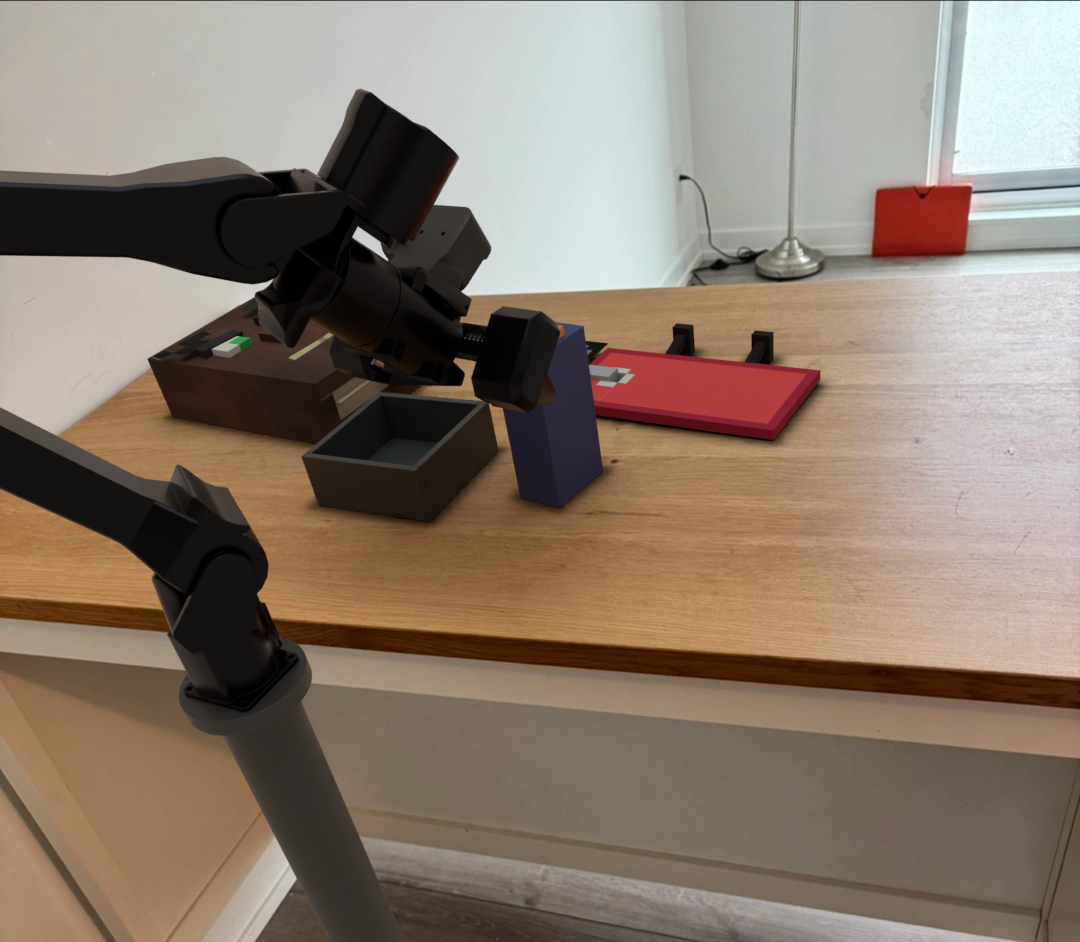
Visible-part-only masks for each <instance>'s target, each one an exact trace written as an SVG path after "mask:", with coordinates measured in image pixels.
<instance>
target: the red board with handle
mask: <svg viewBox="0 0 1080 942" xmlns="http://www.w3.org/2000/svg"><path fill="white" fill-rule="evenodd" d="M694 329H695V328H694V324H688V323H679V322H678V323H675V324H674V325H673V326H672V341H671V343H670V345H669V347H668V348H667V350H666V351H665V353H660V352H652V351H651V352H650V351H642V350H632V349H623V348H614V347H607V348H606V346H608V345H609V342H603V341H602V342H601V341H593V340H586V347H587V354H588V362H589V369H590V377H591V384H592V391H593V399H594V406H595V414H596V416H600V417H608V418H614V419H622V420H630V421H635V422H636V421H637V422H642V423H643V422H644V423H650V424H658V425H664V426H671V427H677V428H678V427H679V428H684V429H685V428H686V429H692V430H699V431H705V432H707V431H708V432H713V433H721V434H726V435H734V436H741V437H747V438H755V439H762V440H770V441H774V440H775V439H776V437H778V435H779V434H780V433H781V431H782V430H783V429H784V427H785V426H786V425H787V424H788V422H789V421H790V420H791V418H792V417H793V416H794V414H795V413H796V412H797V411H798V409H799V408H800V407H801V405H802V404H803V403H804V402H805V400H806V399H807V398H808V397H809V395H810V394H811V392H812V391H813V390H814V389H815V387H816V386H817V385H818V383H819V382H820V381H821V371H822V370H821V369H812V368H803V367H794V366H784V365H775V364H774V365H773V364H772V363H773V361H774V360H775V359H774V352H775V351H774V350H775V349H774V343H775V342H774V341H775V339H774V334H775V333H774V331H765V330H754V331H753V332H752V333H751V335H750V337H751V338H750V339H751V343H750V344H751V350H750V351H749V353H748V355H747V357H746V359H745V360H744V361H737V360H728V359H719V358H707V357H700V356H693V354H694V353H695V352H696V345H695V330H694ZM605 348H606V349H605ZM603 349H604V350H603ZM602 350H603V352H602ZM600 352H601V353H600ZM599 353H600V354H599ZM598 354H599V355H598ZM597 355H598V356H597ZM595 357H596V358H595ZM594 358H595V359H594ZM593 359H594V360H593ZM591 360H593V361H592V362H591V363H590V361H591Z"/></svg>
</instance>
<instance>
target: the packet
mask: <svg viewBox="0 0 1080 942" xmlns="http://www.w3.org/2000/svg"><path fill="white" fill-rule="evenodd" d="M555 322H556V323H557V325H558V327H559V329H560V336H559V339H558V342H557V345H556V348H555V351H554V354H553V357H552V361H551V364H550V367H549V370H548V375H549V377H550V379H551V381H552V383H553V385H554V387H555V390H556V392H555V395H554V398H553V401H552V403H551V404H547V405H540V406H537V407H535V408H534V409H533V410H531V411H530V412H529V413H525V412H518V411H513V410H508V409H504V408H502V412H503V417H504V418H503V419H504V422H505V427H506V432H507V438H508V443H509V447H510V452H511V457H512V462H513V466H514V468H513V469H514V472H515V477H516V483H517V488H518V493H519V497H520V498H522V499H526V500H529V501H533V502H536V503H540V504H543V505H544V504H545V505H548V506H552V507H554V508H555V507H556V508H562V507H563V506H564V505H566V503H568V502H569V501H571V499H573V498H574V497H575V496H576V495H577V494H578V493H579V492H581V491H582V490H583V489H585V488H586V487H587V486H588V485H589V484H590V483H592V482H593V481H594V480H595V479H596V478H598V477H599V476H600V475H601V474H603V472H604V466H603V458H602V451H601V444H600V437H599V436H600V435H599V429H598V422H597V415H596V414H595V406H594V399H593V391H592V384H591V377H590V369H589V365H590V361H589V362H588V354H587V347H586V341H587V340H586V333H585V326H584V325H581V324H571V323H565V322H558V321H555Z"/></svg>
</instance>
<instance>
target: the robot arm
mask: <svg viewBox="0 0 1080 942" xmlns="http://www.w3.org/2000/svg"><path fill="white" fill-rule="evenodd" d="M459 160H460V156H459V155H458V153H457V152H456V151H455V150H454V149H453V148H452V147H451V146H450V145H449V144H448V143H446V142H445V141H444V140H443V139H442V138H441V137H439V136H438V135H437V134H436V133H434V131H432V130H431V129H430V128H428V127H427V126H425V125H422V124H420V123H417V122H414V121H412V119H410V118H408V117H407V116H406V115H404V114H402V113H401V112H399V111H398V110H397V109H395V108H394V107H392V106H391V105H388V103H386V102H384V101H383V100H381V98H379V97H378V96H377V95H375V94H374V93H373V92H372V91H369V90H366V89H363V88H357V89H356V90H355V91H354V94H353V96H352V97H351V99H350V101H349V103H348V105H347V107H346V110H345V115H344V119H343V122H342V125H341V127H340V128H339V130H338V132H337V134H336V136H335V139H334V140H333V142H332V144H331V147H330V148H329V150H328V152H327V154H326V156H325V158H324V160H323V161H322V164H321V166H320V168H319V170H318V172H317V174H316V173H314V172H313V171H311V170H310V169H308V168H304V167H303V168H296V167H295V168H291V169H280V170H268V171H266V170H265V171H256V169H254V168H253V167H251V166H249V165H248V164H246V163H244V162H242V161H241V160H239V159H235V158H231V157H227V156H213V157H206V158H200V159H199V158H198V159H192V160H185V161H177V162H170V163H164V164H160V165H156V166H152V167H148V168H145V169H140V170H137V171H132V172H125V173H119V174H111V175H103V174H83V173H82V174H81V173H64V172H63V173H61V172H42V171H19V170H18V171H17V170H0V256H1V257H3V256H4V257H6V256H7V257H60V258H61V257H64V258H65V257H67V258H124V259H125V258H126V259H133V260H138V261H143V262H149V263H152V264H156V265H160V266H162V267H167V268H170V269H174V270H177V271H180V272H184V273H188V274H191V275H195V276H201V277H206V278H211V279H217V280H223V281H227V282H232V283H237V284H244V285H258V284H265V283H268V282H270V281H271V282H270V283H269V285H267V286H266V287H264V288H263V289H261V290H258V291H256V292H255V293H254V297H255V299H256V301H257V303H258V315H259V323H260V325H261V326H262V327H263V328H265V329H266V330H267V331H268V332H270V333H271V334H272V335H273V336H274V337H276V338H277V339H278V340H279V341H280V342H282V343H283V344H284V345H285V346H286V347H288V348H294V347H295V346H296V345H297V343H298V341H299V339H300V337H301V335H302V333H303V332H304V330H305V328H306V326H307V324H308V322H311V323H312V324H314V325H316V326H318V327H320V328H321V329H323V330H325V331H327V332H329V333H330V334H332V335H334V337H333V340H332V344H331V347H330V350H329V352H330V355H331V359H332V362H333V365H334V368H336V369H338V370H340V371H341V372H343V373H345V374H347V375H349V376H351V377H356V378H360V379H365V380H369V381H373V382H378V383H383V384H388V385H420V386H419V387H421V386H422V387H423V386H424V387H461V386H463V383H464V381H465V378H466V373H465V371H464V370H463V369H462V368H461V367H460V366H459V365H458V364H457V363H456V362H455V360H456V359H458V360H459V359H460V360H464V361H471V362H475V364H474V367H473V371H472V374H471V376H470V380H471V385H472V389H473V393H474V398H477V399H479V401H484V402H486V403H489V405H491V406H492V407H494V408H500V409H503V408H504V409H508V410H513V411H518V412H525V413H529V412H530V411H531V410H533V409H534V408H535V407H537V406H540V405H547V404H551V403H552V401H553V398H554V395H555V392H556V390H555V387H554V385H553V383H552V381H551V379H550V377H549V375H548V370H549V367H550V364H551V361H552V357H553V354H554V351H555V348H556V345H557V342H558V339H559V336H560V329H559V327H558V325H557V323H556V322H557V321H555V320H554V319H553V318H551V317H550V316H549V315H547V314H546V313H544V312H543V311H542V310H535V309H526V308H519V307H513V306H505V305H503V306H500V308H498V309H495V311H493V312H492V313H490V316H489V319H488V322H487V325H483V324H477V323H469V322H463V321H461V319H462V318H466V317H467V316H468V314H469V310H470V306H471V304H472V300H473V298H471V297H469V296H468V295H467V294H466V293H464V292H463V291H464V290H465V289H466V288H467V287H468V285H469V284H470V282H471V281H472V279H473V278H474V275H475V274H476V273H477V271H478V269H479V268H480V266H481V265H482V263H483V262H484V260H485V261H486V260H488V258H489V257H490V254H491V253H492V245H491V243H490V241H489V239H488V237H487V236H486V234H485V232H484V230H483V229H482V227H481V225H480V223H478V220H477V219H476V217H475V215H474V214H473V212H472V210H471V209H470V207H467V206H461V205H460V206H458V205H445V204H443V205H442V204H435V203H436V202H437V200H438V198H439V197H440V194H441V192H442V191H443V189H444V187H445V185H446V184H447V182H448V179H449V178H450V176H451V175H452V173H453V171H454V169H455V167H456V165H457V164H458V162H459ZM358 228H359V229H360V230H362V231H363V232H364V233H367V234H368V235H369V236H371V237H372V238H373V239H375V240H377V241H378V242H379V243H380V247H381V251H382V252H383V255H384V256H385V257H386V258H387V259H386V258H385V257H383V256H381V255H379V254H378V253H377V252H375V251H374V250H372V249H371V248H369V247H368V246H366V245H365V244H363V243H362V242H361V241H359V240H357V239H356V238H355V237H353V236H354V235H355V233H356V231H357V229H358ZM0 490H1V491H3V492H5V493H8V494H10V495H12V496H14V497H16V498H19V499H21V500H23V501H26V502H28V503H30V504H32V505H35V506H37V507H39V508H41V509H44V510H46V511H47V512H51V513H52V514H54V515H55V516H56V515H57V516H59V517H61V518H63V519H65V520H68V521H70V522H71V523H74V524H77V525H79V526H81V527H83V528H85V529H87V530H90V531H92V532H94V533H96V534H98V535H101V536H103V537H105V538H107V539H110V540H112V541H114V542H116V543H118V544H119V545H121V546H123V547H124V548H125V549H127V551H129V552H130V553H131V554H132V555H134V557H136V558H137V559H138V560H139V561H140V562H142V563H143V564H144V565H145V566H146V567H147V568H148V569H150V570H151V571H152V572H153V574H152V576H151V582H152V585H153V588H154V590H155V592H156V596H157V598H158V601H159V603H160V606H161V609H162V611H163V614H164V616H165V619H166V621H167V625H168V627H169V631H168V632H167V634H166V636H167V638H168V639H169V641H170V644H171V645H172V647H173V649H174V651H175V653H176V655H177V657H178V659H179V661H180V663H181V665H182V666H183V668H184V670H185V672H186V675H187V674H188V676H189V678H190V680H191V682H190V683H189V684H188V685H187V686H186V687H185V688H184V689H183V692H184V694H185V696H186V697H189V698H193V699H196V700H200V701H203V702H207V703H210V704H214V705H218V706H221V707H225V708H228V709H232V710H235V711H239V712H243V713H245V712H249V711H250V710H252V709H253V708H254V707H255V706H256V705H257V703H258V702H259V701H260V700H261V699H262V698H263V697H264V696H265V695H266V694H267V693H268V692H269V691H270V690H271V689H272V688H273V687H274V686H275V685H276V684H277V683H278V682H279V681H280V680H281V679H282V678H283V677H284V676H285V675H286V674H287V673H288V672H289V671H290V670H291V669H292V668H293V667H294V665H295V664H296V663H297V662H298V661H299V657H298V655H297V653H295V652H290V651H286V650H282V649H281V647H282V646H283V645H282V641H281V638H280V637H281V636H280V634H279V632H278V629H277V627H276V625H275V623H274V620H273V617H272V616H271V613H270V611H269V610H270V609H269V608H268V606H267V604H266V603H265V602H263V601H261V600H260V597H259V595H258V594H259V592H260V591H261V590H262V589H263V588H264V585H265V583H266V581H267V578H268V576H269V565H270V564H269V561H268V557H267V553H266V551H265V549H264V547H263V546H262V543H261V542H260V541H259V538H258V537H257V535H256V533H255V531H254V530H253V528H252V526H251V525H250V523H249V521H248V520H247V518H246V517H245V515H244V512H243V511H242V510H241V509H240V507H239V505H238V503H237V502H236V500H235V498H234V496H233V494H232V493H231V491H230V489H229V488H228V487H225V486H217V485H213V484H211V483H208V482H206V481H204V480H202V479H201V478H199V477H198V476H196V475H195V474H194V473H193V472H191V470H189V469H187V468H186V467H184V466H183V465H181V464H176V465H175V467H174V470H173V472H172V475H171V476H170V480H169V481H167V480H161V479H150V478H144V477H142V476H138V475H136V474H133V473H132V472H129V471H128V470H126V469H124V468H122V467H120V466H118V465H116V464H114V463H113V462H110V461H108V460H106V459H103V458H102V457H100V456H98V455H96V454H94V453H93V452H90V451H88V450H86V449H84V448H82V447H80V446H78V445H76V444H75V443H72V442H70V441H68V440H66V439H64V438H62V437H60V436H58V435H56V434H54V433H52V432H51V431H49V430H46V429H45V428H43V427H41V426H38V425H36V424H34V423H32V422H30V421H29V420H26V419H25V418H22V417H21V416H19V415H16V414H15V413H13V412H10V411H9V410H7V409H5V408H3V407H1V406H0Z"/></svg>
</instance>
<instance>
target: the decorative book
mask: <svg viewBox="0 0 1080 942" xmlns="http://www.w3.org/2000/svg"><path fill="white" fill-rule="evenodd" d="M333 337H334V335H332V334H330V333H329V332H327V331H325V330H323V329H321V328H320V327H318V326H316V325H314V324H312V323H311V322H308V324H307V326H306V328H305V330H304V332H303V333H302V335H301V337H300V339H299V341H298V343H297V345H296V346H295V347H294V348H288V347H286V346H285V345H284V344H283V343H282V342H280V341H279V340H278V339H277V338H276V337H274V336H273V335H272V334H271V333H270V332H268V331H267V330H266V329H265V328H263V327H262V326H261V325H260V323H259V315H258V303H257V301H256V299H255V296H254V297H252V298H249V299H248V300H246V301H245V302H243V303H241V304H239V305H238V306H236V307H235V308H233V309H231V310H230V311H227V312H226V313H224V314H222V315H221V316H219V317H217V318H216V319H214V320H212V321H210V322H208V323H206V324H205V325H203V326H202V327H200V328H198V329H196V330H194V331H193V332H191V333H189V334H188V335H186V336H184V337H182V338H181V339H179V340H177V341H176V342H174V343H172V344H170V345H169V346H167V347H164V348H163V349H161V350H160V351H158V352H156V353H155V354H153V355H151V356H150V357H148V358H147V362H148V364H149V367H150V368H151V369H150V370H151V371H152V373H153V376H154V378H155V380H156V383H157V385H158V387H159V389H160V392H161V394H162V397H163V398H164V401H165V403H166V405H167V408H168V410H169V413H170V414H171V415H170V416H171V417H172V418H176V419H181V420H182V419H183V420H187V421H193V422H198V423H203V424H209V425H214V426H219V427H224V428H229V429H233V430H234V429H235V430H240V431H244V432H251V433H255V434H262V435H265V436H266V435H267V436H272V437H277V438H282V439H287V440H293V441H297V442H302V443H309V444H313V445H316V444H317V443H318V442H319V441H320V440H322V439H323V438H324V437H325V436H326V435H328V434H329V433H330V432H331V431H332V430H334V429H335V428H336V427H337V426H338V425H340V424H341V423H342V422H343V421H344V420H346V419H347V418H348V417H349V416H351V415H352V414H353V413H354V412H355V411H357V410H358V409H359V408H360V407H361V406H363V405H364V404H365V403H366V402H367V401H369V400H370V399H371V398H372V397H373V396H375V395H376V394H377V393H378V392H384V393H396V394H407V395H411V393H412V392H414V391H415V390H417V389H418V388H419V387H421V386H420V385H388V384H383V383H378V382H373V381H369V380H365V379H360V378H356V377H351V376H349V375H347V374H345V373H343V372H341V371H340V370H338V369H336V368H334V365H333V362H332V359H331V355H330V352H329V350H330V347H331V344H332V340H333Z"/></svg>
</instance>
